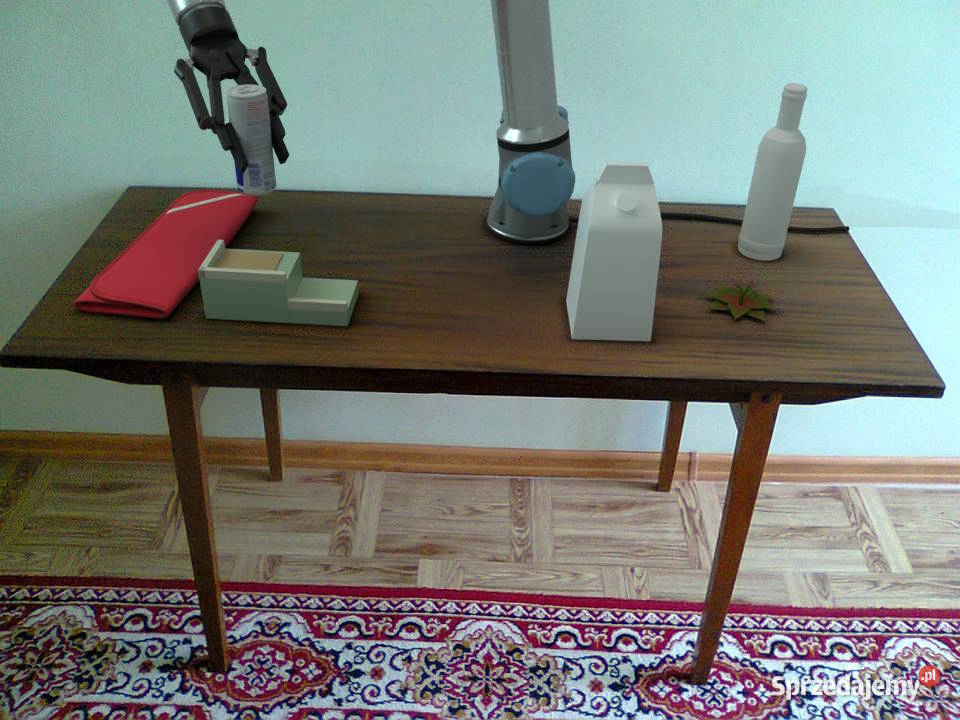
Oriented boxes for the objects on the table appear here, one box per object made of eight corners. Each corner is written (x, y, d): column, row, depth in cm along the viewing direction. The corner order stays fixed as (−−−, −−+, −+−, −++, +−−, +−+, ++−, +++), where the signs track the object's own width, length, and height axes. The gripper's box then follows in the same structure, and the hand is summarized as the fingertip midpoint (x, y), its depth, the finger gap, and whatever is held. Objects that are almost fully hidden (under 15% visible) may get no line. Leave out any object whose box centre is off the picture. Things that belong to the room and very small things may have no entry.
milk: (639, 302, 149) (662, 149, 134) (650, 341, 139) (676, 181, 125) (566, 300, 148) (580, 147, 134) (572, 339, 139) (588, 178, 124)
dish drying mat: (72, 311, 141) (67, 290, 139) (183, 203, 175) (180, 185, 173) (169, 322, 139) (166, 301, 137) (262, 210, 173) (260, 192, 171)
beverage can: (281, 183, 138) (271, 84, 129) (270, 198, 133) (259, 97, 125) (244, 181, 138) (233, 81, 130) (232, 196, 133) (219, 94, 125)
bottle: (736, 258, 163) (771, 90, 146) (736, 238, 169) (770, 76, 152) (782, 264, 161) (823, 95, 145) (781, 244, 168) (820, 81, 151)
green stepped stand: (358, 293, 148) (356, 246, 144) (347, 326, 140) (344, 277, 135) (224, 286, 149) (217, 239, 144) (205, 318, 141) (197, 269, 136)
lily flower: (782, 296, 152) (788, 272, 149) (772, 331, 143) (779, 306, 140) (709, 281, 155) (714, 257, 153) (696, 314, 146) (700, 289, 144)
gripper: (256, 25, 140) (315, 162, 138) (135, 42, 130) (197, 189, 129) (268, -4, 133) (330, 139, 132) (142, 11, 124) (207, 166, 122)
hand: (264, 163), depth 130 cm, fingers closed on beverage can, 6 cm apart
